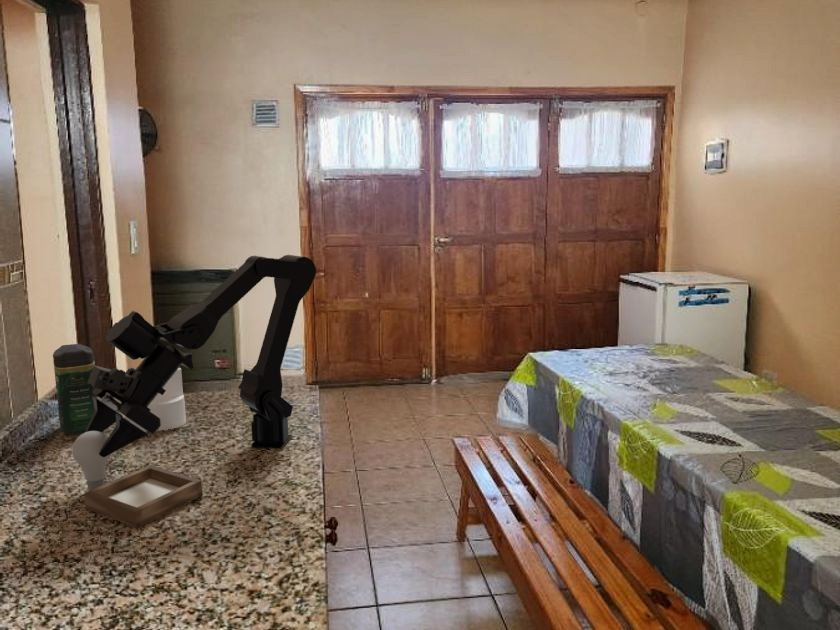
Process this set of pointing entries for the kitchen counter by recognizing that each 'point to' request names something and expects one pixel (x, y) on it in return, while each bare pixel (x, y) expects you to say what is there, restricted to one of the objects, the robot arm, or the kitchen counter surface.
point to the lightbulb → (91, 457)
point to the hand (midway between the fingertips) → (92, 448)
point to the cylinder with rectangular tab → (170, 404)
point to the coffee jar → (74, 387)
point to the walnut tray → (143, 495)
